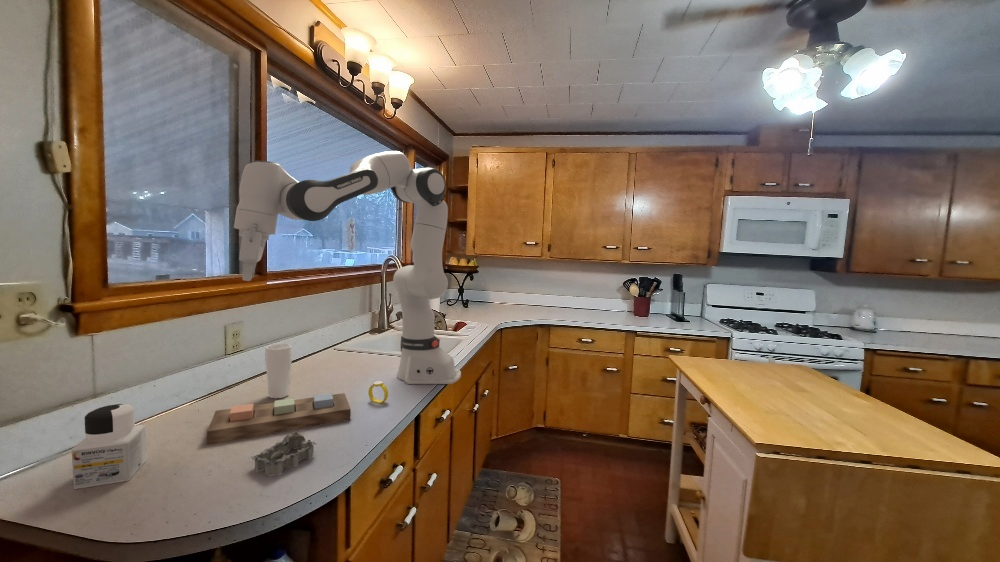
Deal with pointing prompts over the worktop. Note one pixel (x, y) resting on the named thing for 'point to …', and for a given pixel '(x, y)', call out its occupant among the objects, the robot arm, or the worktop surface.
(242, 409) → the terracotta button
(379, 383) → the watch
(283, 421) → the button panel
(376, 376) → the worktop surface
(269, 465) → the egg carton
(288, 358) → the drinking glass
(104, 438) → the container
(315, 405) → the slate button
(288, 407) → the sage button
